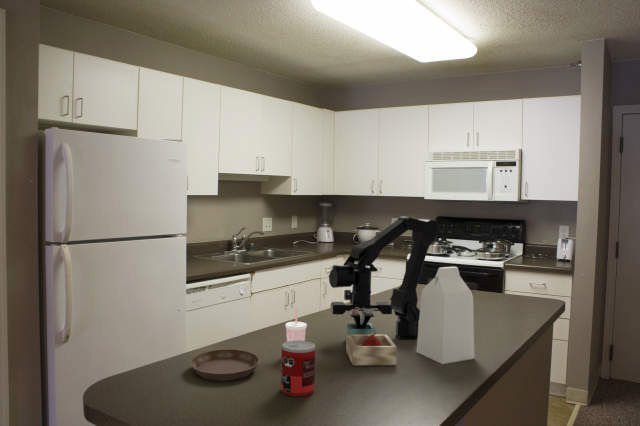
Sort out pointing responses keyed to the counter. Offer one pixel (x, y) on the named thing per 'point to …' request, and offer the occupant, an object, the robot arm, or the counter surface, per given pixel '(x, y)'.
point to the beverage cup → (296, 330)
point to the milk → (446, 318)
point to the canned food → (298, 368)
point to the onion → (372, 341)
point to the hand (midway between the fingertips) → (360, 335)
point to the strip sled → (369, 347)
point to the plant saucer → (225, 364)
